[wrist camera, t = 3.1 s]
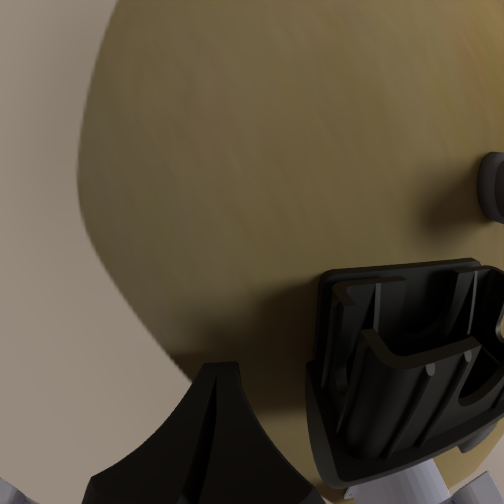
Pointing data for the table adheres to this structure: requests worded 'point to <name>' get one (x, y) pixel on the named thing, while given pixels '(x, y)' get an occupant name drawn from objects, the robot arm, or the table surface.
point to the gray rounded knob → (492, 186)
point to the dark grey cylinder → (476, 439)
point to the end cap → (402, 365)
